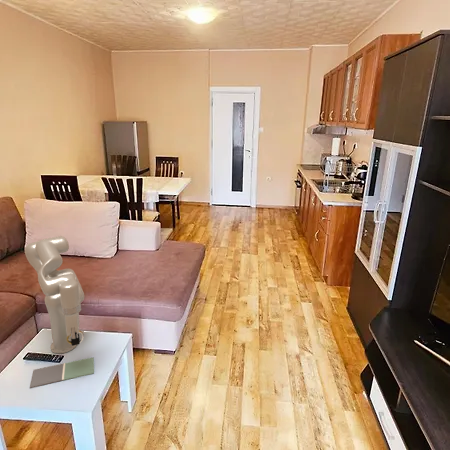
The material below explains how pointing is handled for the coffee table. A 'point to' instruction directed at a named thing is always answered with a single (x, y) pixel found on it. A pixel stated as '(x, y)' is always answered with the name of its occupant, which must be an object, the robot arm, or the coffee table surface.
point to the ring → (79, 341)
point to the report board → (62, 372)
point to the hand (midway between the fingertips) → (75, 342)
